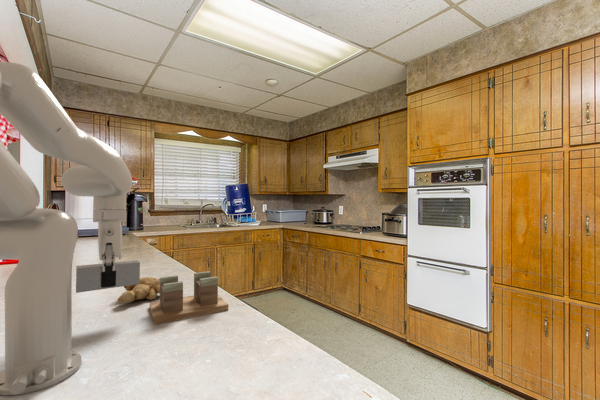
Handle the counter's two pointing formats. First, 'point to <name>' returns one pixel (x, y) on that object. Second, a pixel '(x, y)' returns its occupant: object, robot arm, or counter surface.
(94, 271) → the bracket bar
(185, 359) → the counter surface
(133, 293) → the ginger root
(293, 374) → the counter surface
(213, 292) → the post rig
